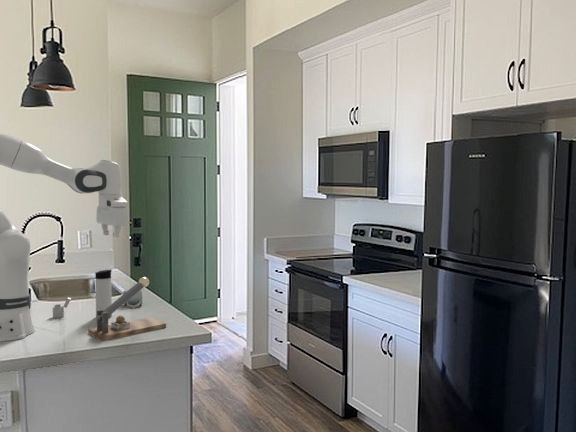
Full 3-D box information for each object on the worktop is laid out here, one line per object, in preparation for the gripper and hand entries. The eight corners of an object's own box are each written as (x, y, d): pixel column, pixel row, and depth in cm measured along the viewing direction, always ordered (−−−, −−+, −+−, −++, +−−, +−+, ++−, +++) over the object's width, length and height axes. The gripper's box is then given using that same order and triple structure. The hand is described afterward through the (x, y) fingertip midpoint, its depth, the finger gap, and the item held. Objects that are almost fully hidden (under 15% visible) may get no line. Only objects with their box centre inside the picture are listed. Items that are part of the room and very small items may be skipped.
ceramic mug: (123, 303, 243) (122, 287, 242) (141, 302, 246) (141, 286, 245) (124, 309, 233) (124, 292, 233) (143, 307, 236) (143, 291, 236)
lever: (104, 324, 193) (98, 316, 191) (99, 322, 196) (93, 314, 194) (152, 283, 205) (147, 275, 203) (147, 282, 208) (142, 274, 206)
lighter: (52, 317, 218) (52, 298, 217) (53, 316, 219) (52, 298, 219) (71, 316, 220) (70, 297, 219) (71, 315, 222) (71, 296, 221)
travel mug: (107, 319, 216) (106, 271, 214) (93, 318, 217) (92, 270, 216) (115, 315, 222) (114, 268, 220) (101, 314, 223) (100, 268, 222)
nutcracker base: (101, 340, 188) (101, 316, 187) (88, 333, 197) (87, 309, 196) (166, 327, 206) (165, 304, 205) (151, 320, 214) (151, 299, 214)
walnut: (118, 325, 197) (118, 317, 197) (114, 323, 199) (114, 315, 199) (126, 324, 199) (126, 315, 199) (122, 322, 201) (122, 314, 201)
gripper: (92, 200, 213) (92, 234, 214) (113, 202, 198) (114, 239, 199) (107, 200, 218) (107, 233, 219) (129, 202, 203) (130, 237, 204)
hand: (111, 236), depth 209 cm, fingers open, 8 cm apart
